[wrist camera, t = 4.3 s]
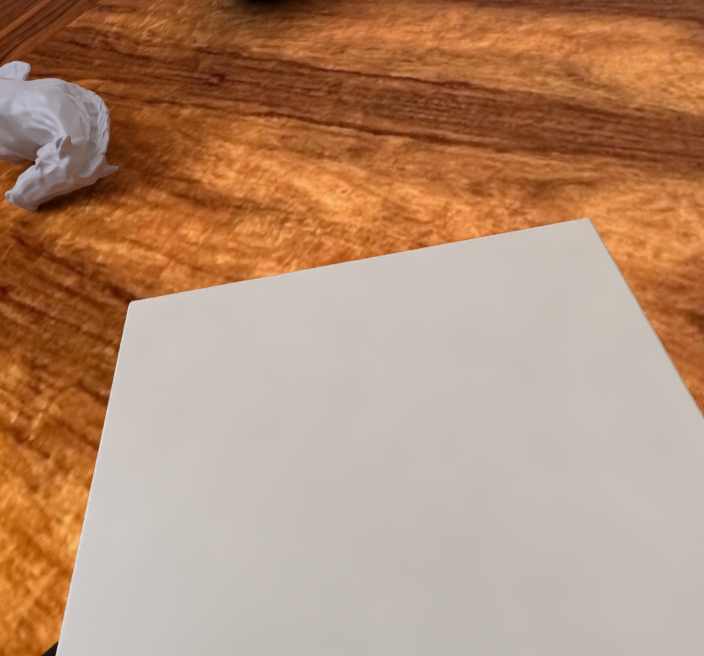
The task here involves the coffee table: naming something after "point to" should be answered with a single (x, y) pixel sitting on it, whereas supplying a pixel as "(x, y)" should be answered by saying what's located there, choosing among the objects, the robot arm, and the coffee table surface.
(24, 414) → the coffee table surface
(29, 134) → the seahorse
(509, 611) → the white tilted block
